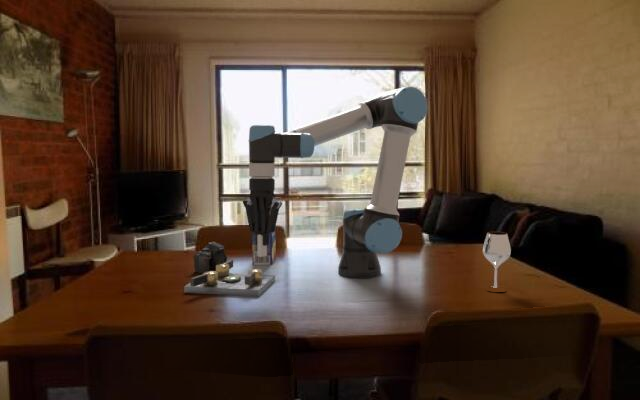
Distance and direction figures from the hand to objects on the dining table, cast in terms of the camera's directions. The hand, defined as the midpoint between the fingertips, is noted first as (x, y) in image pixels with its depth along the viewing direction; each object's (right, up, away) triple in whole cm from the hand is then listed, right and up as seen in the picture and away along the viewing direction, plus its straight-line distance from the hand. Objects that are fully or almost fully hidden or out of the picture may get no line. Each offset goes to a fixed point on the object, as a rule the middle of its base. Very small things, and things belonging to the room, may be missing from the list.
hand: (262, 255), depth 145 cm
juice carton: (-5, -8, +46) cm, 47 cm away
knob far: (-15, -8, +19) cm, 25 cm away
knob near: (-18, -10, +4) cm, 21 cm away
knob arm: (-4, -9, +6) cm, 12 cm away
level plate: (-11, -11, +11) cm, 19 cm away
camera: (-23, -9, +33) cm, 41 cm away
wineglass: (+72, -12, +5) cm, 73 cm away
